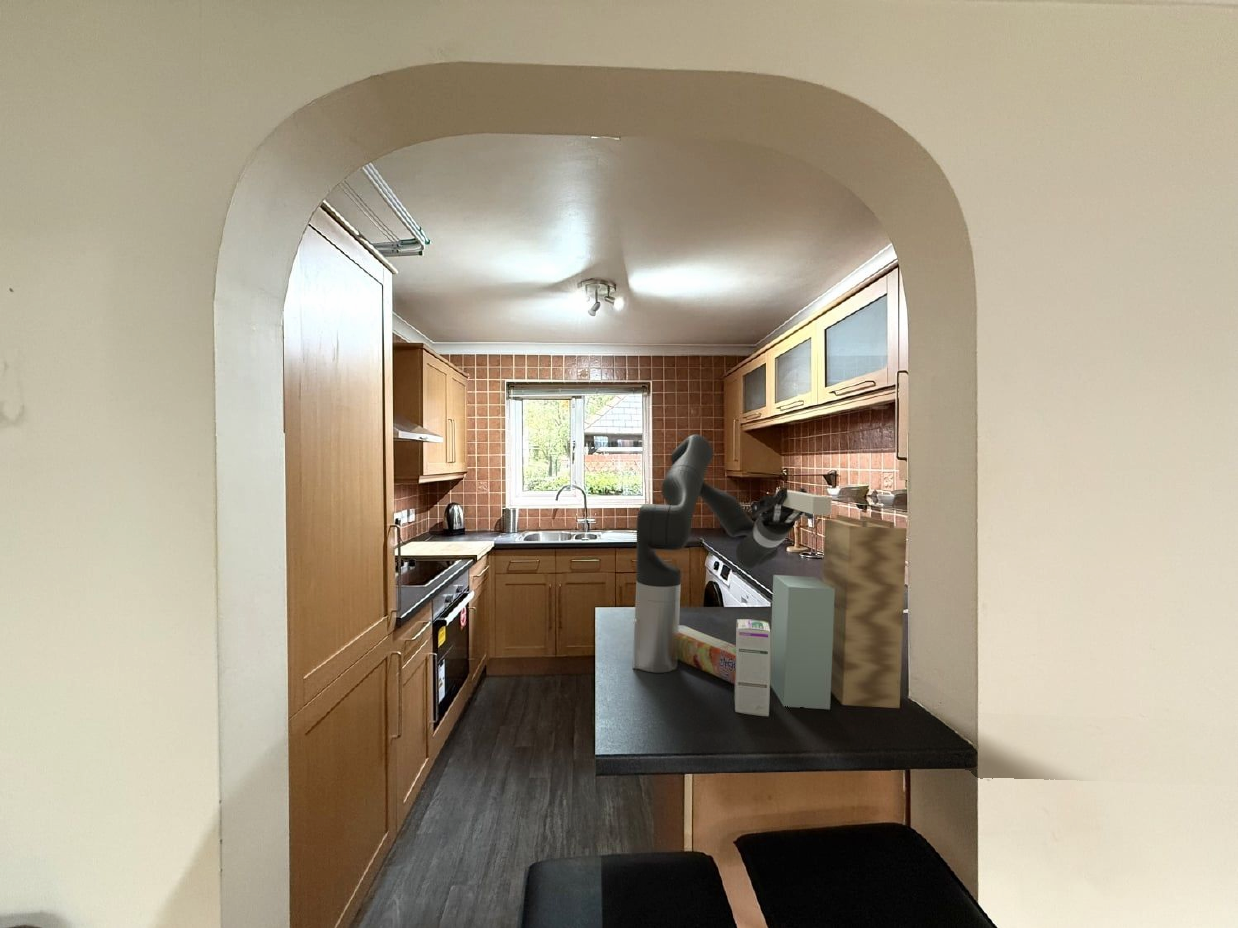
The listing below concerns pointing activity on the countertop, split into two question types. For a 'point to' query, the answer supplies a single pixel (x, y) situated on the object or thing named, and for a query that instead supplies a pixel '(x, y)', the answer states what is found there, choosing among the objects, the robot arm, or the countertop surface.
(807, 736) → the countertop surface
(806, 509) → the bar
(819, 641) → the post
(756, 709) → the syrup box
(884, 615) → the tall wood-grain block
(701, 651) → the snack package
